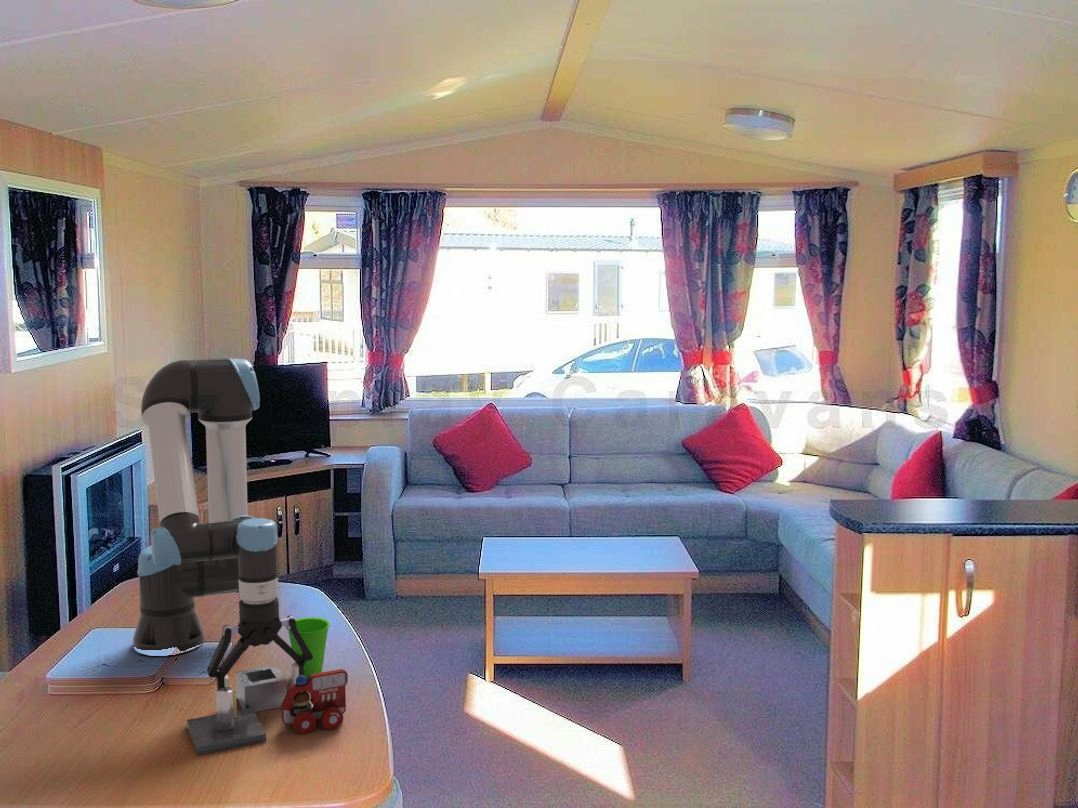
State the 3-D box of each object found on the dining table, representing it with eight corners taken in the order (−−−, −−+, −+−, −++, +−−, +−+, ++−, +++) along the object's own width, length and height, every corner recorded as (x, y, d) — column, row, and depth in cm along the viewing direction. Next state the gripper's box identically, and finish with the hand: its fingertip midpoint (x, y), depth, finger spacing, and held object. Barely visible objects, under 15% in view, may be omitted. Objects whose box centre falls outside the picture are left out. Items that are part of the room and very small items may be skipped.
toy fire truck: (279, 722, 194) (277, 670, 193) (343, 711, 199) (343, 661, 197) (284, 738, 188) (283, 684, 186) (351, 727, 193) (350, 675, 191)
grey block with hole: (236, 697, 204) (236, 671, 204) (276, 690, 208) (276, 664, 207) (245, 713, 197) (244, 686, 197) (286, 705, 201) (286, 679, 200)
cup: (320, 685, 211) (319, 634, 209) (279, 680, 213) (278, 630, 211) (337, 668, 220) (336, 619, 218) (298, 664, 221) (297, 615, 220)
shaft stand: (186, 727, 191) (185, 684, 190) (251, 714, 197) (250, 673, 196) (197, 755, 181) (196, 710, 180) (266, 741, 187) (264, 697, 185)
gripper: (195, 613, 191) (199, 721, 194) (326, 595, 202) (328, 696, 205) (189, 601, 197) (193, 705, 200) (316, 584, 209) (318, 682, 212)
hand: (261, 701), depth 203 cm, fingers open, 13 cm apart
